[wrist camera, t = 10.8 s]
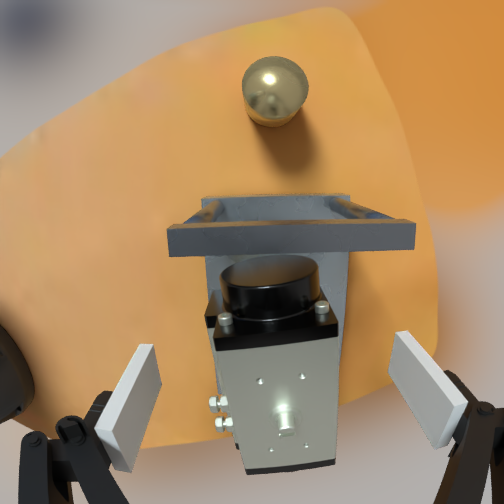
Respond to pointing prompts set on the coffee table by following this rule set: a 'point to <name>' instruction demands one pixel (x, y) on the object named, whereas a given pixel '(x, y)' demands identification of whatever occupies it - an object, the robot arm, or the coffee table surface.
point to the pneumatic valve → (276, 363)
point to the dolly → (288, 236)
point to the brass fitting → (274, 90)
